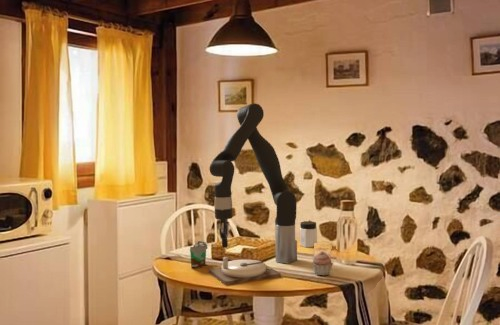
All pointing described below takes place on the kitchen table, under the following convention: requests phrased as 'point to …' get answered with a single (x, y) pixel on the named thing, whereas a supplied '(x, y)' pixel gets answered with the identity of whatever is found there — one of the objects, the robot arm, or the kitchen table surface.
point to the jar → (308, 234)
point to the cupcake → (322, 264)
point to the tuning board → (234, 280)
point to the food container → (198, 255)
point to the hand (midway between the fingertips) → (225, 247)
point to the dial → (243, 268)
